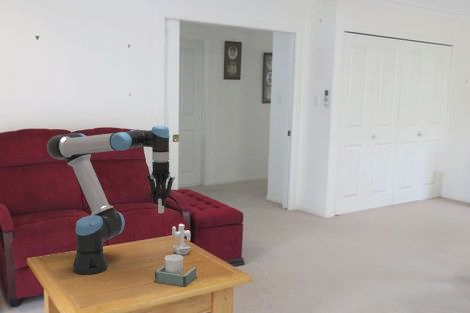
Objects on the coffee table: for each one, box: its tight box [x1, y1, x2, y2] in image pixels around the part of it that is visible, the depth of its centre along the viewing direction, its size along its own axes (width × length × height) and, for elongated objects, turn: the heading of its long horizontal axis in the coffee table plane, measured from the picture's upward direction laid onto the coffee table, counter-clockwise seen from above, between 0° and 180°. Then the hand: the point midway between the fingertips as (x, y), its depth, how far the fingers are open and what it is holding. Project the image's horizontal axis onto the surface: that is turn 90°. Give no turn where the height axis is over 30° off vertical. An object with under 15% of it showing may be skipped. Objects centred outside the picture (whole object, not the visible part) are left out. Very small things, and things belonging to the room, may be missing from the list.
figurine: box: [171, 223, 192, 256], centre depth 239 cm, size 7×9×15 cm
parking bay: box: [154, 264, 197, 288], centre depth 206 cm, size 14×11×4 cm
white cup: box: [164, 254, 184, 275], centre depth 205 cm, size 8×8×10 cm
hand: (161, 212), depth 216 cm, fingers closed
